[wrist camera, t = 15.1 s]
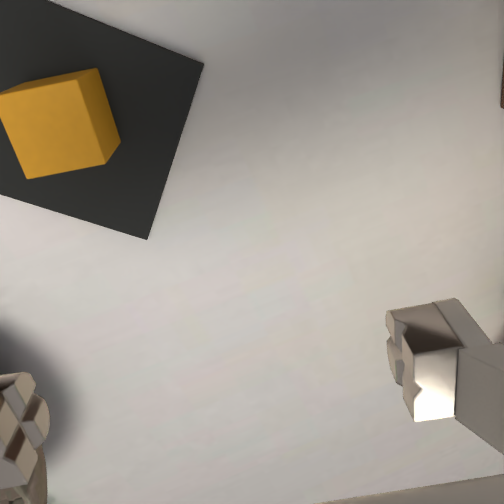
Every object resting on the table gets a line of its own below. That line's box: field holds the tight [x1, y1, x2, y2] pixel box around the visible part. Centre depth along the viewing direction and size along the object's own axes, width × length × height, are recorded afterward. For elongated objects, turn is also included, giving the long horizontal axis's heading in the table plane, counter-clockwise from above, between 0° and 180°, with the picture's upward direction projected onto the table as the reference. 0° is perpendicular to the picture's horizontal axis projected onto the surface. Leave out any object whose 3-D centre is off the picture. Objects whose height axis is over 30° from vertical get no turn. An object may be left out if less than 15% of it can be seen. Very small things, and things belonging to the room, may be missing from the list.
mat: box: [0, 0, 204, 240], centre depth 29 cm, size 12×12×1 cm
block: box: [0, 68, 121, 179], centre depth 26 cm, size 4×4×4 cm
